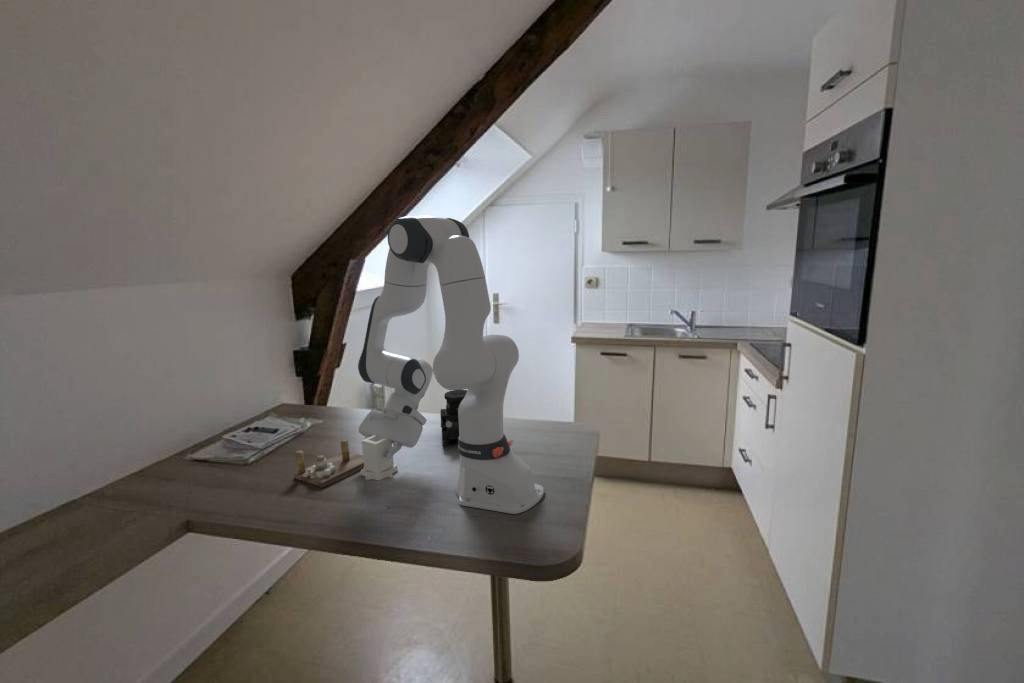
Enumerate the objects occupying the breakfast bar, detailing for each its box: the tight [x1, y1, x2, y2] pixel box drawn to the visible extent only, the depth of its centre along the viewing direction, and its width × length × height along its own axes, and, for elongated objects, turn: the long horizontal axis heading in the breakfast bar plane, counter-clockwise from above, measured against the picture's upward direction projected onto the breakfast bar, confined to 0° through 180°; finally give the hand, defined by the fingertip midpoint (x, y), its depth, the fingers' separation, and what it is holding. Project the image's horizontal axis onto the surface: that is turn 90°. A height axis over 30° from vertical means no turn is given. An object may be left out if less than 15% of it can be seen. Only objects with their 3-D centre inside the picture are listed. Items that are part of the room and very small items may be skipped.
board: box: [293, 438, 364, 489], centre depth 140 cm, size 12×18×8 cm
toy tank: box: [440, 389, 468, 447], centre depth 161 cm, size 12×18×15 cm
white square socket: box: [360, 435, 399, 481], centre depth 137 cm, size 10×10×10 cm
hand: (376, 455), depth 137 cm, fingers open, 7 cm apart
